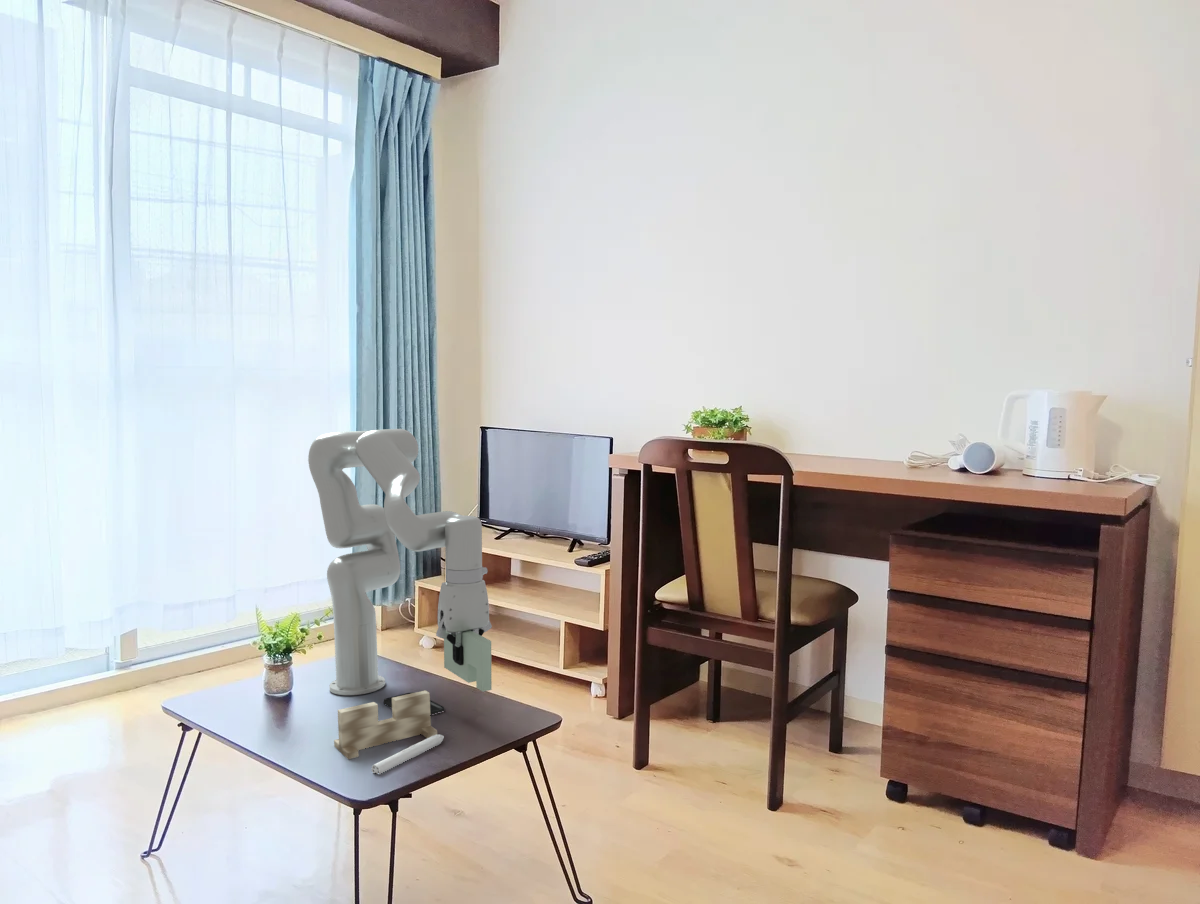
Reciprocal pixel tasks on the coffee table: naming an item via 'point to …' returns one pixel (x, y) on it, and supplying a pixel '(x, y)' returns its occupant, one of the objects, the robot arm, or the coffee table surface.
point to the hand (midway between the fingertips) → (464, 661)
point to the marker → (407, 754)
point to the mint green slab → (471, 660)
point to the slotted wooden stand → (383, 723)
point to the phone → (433, 706)
